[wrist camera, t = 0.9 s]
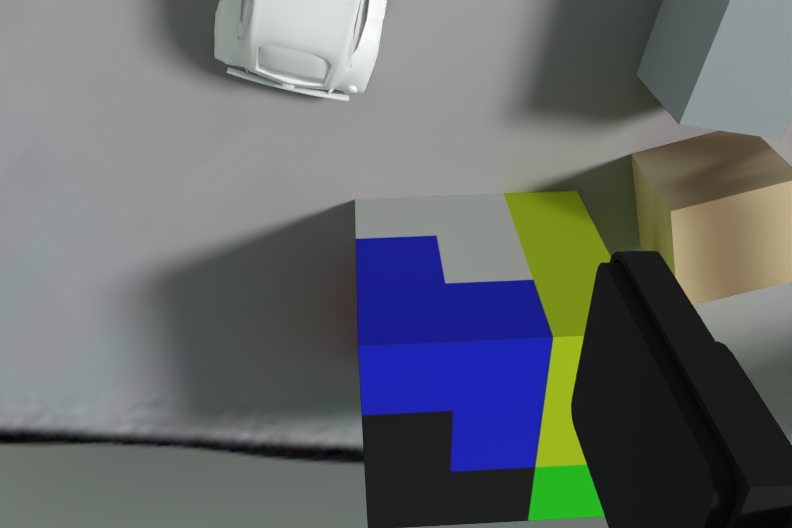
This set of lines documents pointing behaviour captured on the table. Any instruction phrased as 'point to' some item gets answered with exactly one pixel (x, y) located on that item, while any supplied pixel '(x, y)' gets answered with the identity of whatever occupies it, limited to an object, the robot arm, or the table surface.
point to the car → (301, 43)
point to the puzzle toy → (473, 356)
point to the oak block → (716, 213)
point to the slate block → (723, 64)
